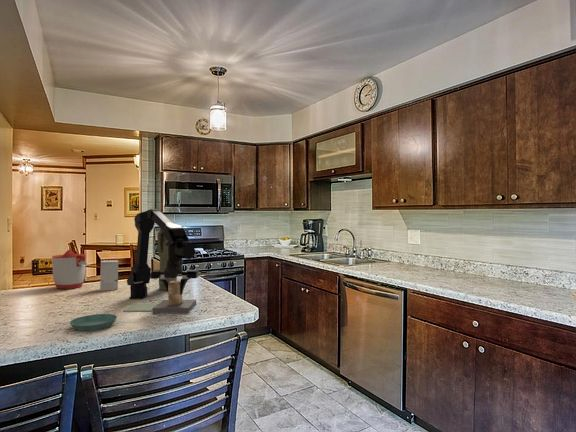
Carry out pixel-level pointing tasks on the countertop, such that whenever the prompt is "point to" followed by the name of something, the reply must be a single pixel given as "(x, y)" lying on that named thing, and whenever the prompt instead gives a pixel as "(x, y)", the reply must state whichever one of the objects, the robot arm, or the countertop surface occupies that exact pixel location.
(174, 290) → the wooden plug
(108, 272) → the skincare box
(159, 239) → the thermos
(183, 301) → the grey flat square slab
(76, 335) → the countertop surface
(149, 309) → the rubber mat
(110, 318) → the saucer
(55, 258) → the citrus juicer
